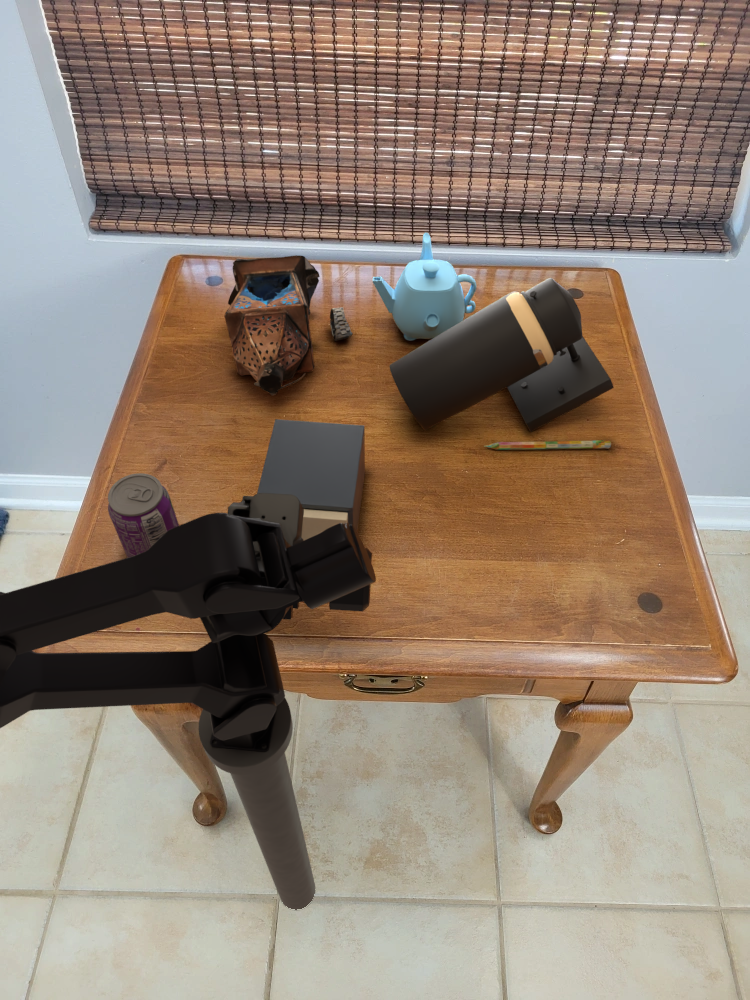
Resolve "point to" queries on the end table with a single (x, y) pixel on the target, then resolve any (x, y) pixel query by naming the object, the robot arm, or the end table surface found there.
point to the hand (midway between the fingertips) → (291, 559)
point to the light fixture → (506, 360)
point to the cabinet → (317, 465)
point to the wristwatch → (339, 324)
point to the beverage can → (140, 512)
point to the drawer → (320, 521)
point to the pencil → (551, 445)
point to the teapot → (427, 296)
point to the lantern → (272, 319)
